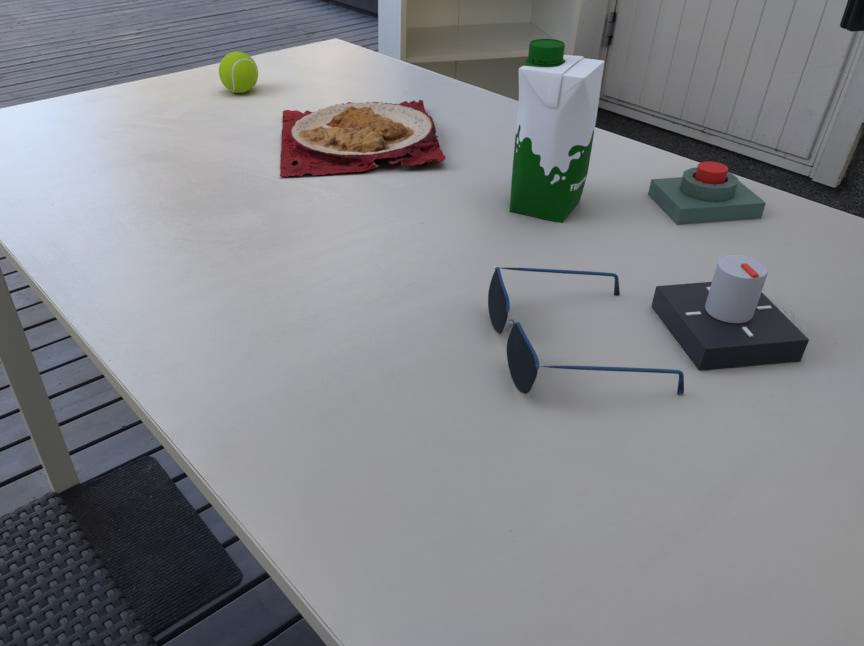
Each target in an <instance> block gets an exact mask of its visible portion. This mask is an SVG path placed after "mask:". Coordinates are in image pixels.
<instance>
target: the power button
mask: <svg viewBox="0 0 864 646" xmlns="http://www.w3.org/2000/svg"><path fill="white" fill-rule="evenodd" d="M696 167H697V170H696V174H695V179H696V180H697V181H700V182H703V183H707V184H723V183H725V180H726V176H727V173H728V172H729V167H728V165H726V164H724V163H721V162H717V161H701V162H699V163H698V164H697V165H696Z"/></svg>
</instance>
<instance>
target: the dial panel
mask: <svg viewBox="0 0 864 646" xmlns="http://www.w3.org/2000/svg"><path fill="white" fill-rule="evenodd" d="M711 283H712V281H702V282H691V283H679V284H667V285H656V286H655V289H654V293H653V298H652V302H651V306H650V307H651V308H652V309H653V310H654V312H655V313H656V314H657V316H658V318H659V319H660V320H661V321H662V323H663V324H664V326H665V327H666V328H667V329H668V331H669V332H670V333H671V335H672V336H673V338H674V339H675V340H676V342H677V343H678V344H679V345H680V347H681V348H682V349H683V351H684V352H685V353H686V355H687V356H688V358H689V359H690V361H691V362H692V363H693V364H694V366H695V367H696V368H697V369H698V371H707V370H718V369H729V368H742V367H749V366H750V367H752V366H762V365H774V364H784V363H795V362H801V361H802V359H803V356H804V354H805V351H806V350H807V346H808V344H809V341H810V339H809V338H808V337H807V336H806V335H805V334H804V332H802V331H801V330H800V328H798V327H797V325H795V323H793V321H791V320H790V319H789V318H788V317H787V316H786V315H785V313H784V312H782V311H781V309H779V307H777V306H776V305H775V303H774V302H773V301H771V299H770V298H768V296H766V295H765V293H763V291H762V292H761V295H760V298H759V301H758V304H757V307H756V309H755V312H754V315H753V318H752V319H751V320H750V321H748V322H745V323H728V322H724V321H720V320H718V319H716V318H714V317H712V316H711V315H709V314H708V313H707V311H706V309H705V304H706V300H707V297H708V294H709V290H710V287H711Z"/></svg>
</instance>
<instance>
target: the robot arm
mask: <svg viewBox="0 0 864 646" xmlns="http://www.w3.org/2000/svg"><path fill="white" fill-rule="evenodd" d="M844 8H845V9H844V11H843V13H842V17H841V20H840V23H839V27H840V29H844V30H846V31H848V32H851V33H852V32H864V0H847V2H846V4H845V7H844Z"/></svg>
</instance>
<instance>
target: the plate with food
mask: <svg viewBox="0 0 864 646" xmlns="http://www.w3.org/2000/svg"><path fill="white" fill-rule="evenodd" d="M436 134H437V129H436V124H435V122H434V119H433V117H432V116H431V115H429V113H428V112H427V111H426V108H425V104H424V100H423V99H418V101H415V100H414V99H413V100H411V101H410V102H408V101H405V100H404V101H403V102H400V103H392V102H389V103H388V102H383V101H380V102H379V101H370V102H369V101H367V102H351V101H348V102H346V103H344V102H343V103H340V104H334V105H330V106H327V107H325V108H319V109H318V110H317V111H316V110H315V111H310V110H305V111H304V112H302V111H300V110H297V109H295V110H292V109H291V110H290V109H285V110H282V129H281V141H280V142H281V143H280V149H281V150H280V163H279V167H280V168H279V169H280V172H279V176H280V177H285V178H289V177H291V176H292V177H295V176H298V177H303V176H304V175H306V174H311V175H312V176H325V175H329V174H330V175H331V174H332V175H335V174H342V173H355V172H356V173H359V172H368V171H370V170H372V169H377V168H379V164H378V163H376V162H375V160H378V159H379V160H381V159H389V161H388V164H390V165H394V164H397V163H398V164H399V163H400V166H402V167H414V166H417V165H418V166H419V165H423V164H424V165H427V164H428V163H431V162H432V161H433V162H437V163H438V164H439V163H441V162H443V161H445V160H446V158H447V157H446V155H445V154H444V152H443V151H442V148H441V145H440V142H439V140H438V138H439V136H438V135H436ZM405 155H407V156H405ZM404 156H405V157H404ZM399 157H400V158H399ZM295 161H296V162H297V164H295V165H293V163H294V162H295Z"/></svg>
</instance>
